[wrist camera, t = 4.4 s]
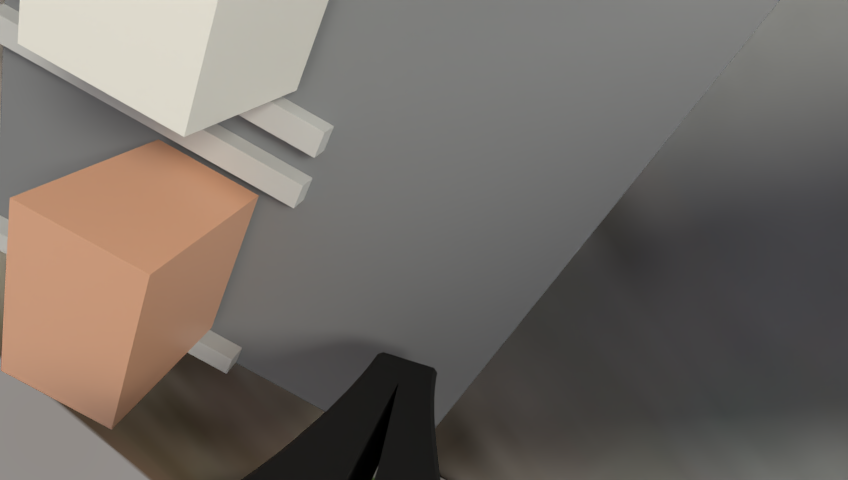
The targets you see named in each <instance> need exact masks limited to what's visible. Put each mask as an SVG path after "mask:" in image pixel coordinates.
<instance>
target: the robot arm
mask: <svg viewBox="0 0 848 480" xmlns="http://www.w3.org/2000/svg"><path fill="white" fill-rule="evenodd" d="M436 377H437V372H436V370H435V369H434V368H433V367H430V366H427V365H423V364H420V363H417V362H414V361H410V360H407V359H404V358H401V357H397V356H394V355H391V354H388V353H385V352H382V353H379V354H377V355H376V357H375V358H374V360H373V361H372V362H371V364H370V365H369V366H368V367H367V369H366V370H365V371H364V372H363V373H362V375H361V376H360V377H359V378H358V379H357V380H356V381H355V382H354V384H353V385H352V386H351V387H350V388H349V389H348V390H347V391H346V392H345V393H344V394H343V395H342V396H341V397H340V398H339V399H338V400H337V401H336V402H335V403H334V404H333V405H332V406H331V407H330V408H329V409H328V410H327V411H326V412H325V413H324V414H323V415H322V416H321V417H319V418H318V419H317V420H316V421H315V422H314V423H313V424H312V425H310V426H309V427H308V428H307V429H306V430H305V431H304V432H302V433H301V434H300V435H299V436H298V437H297V438H296V439H294V440H293V441H292V442H291V443H290V444H288V445H287V446H286V447H285V448H283V449H282V450H281V451H280V452H278V453H277V454H276V455H275V456H273V457H272V458H271V459H269V460H268V461H267V462H265V463H264V464H263V465H261V466H260V467H259V468H257V469H256V470H254V471H253V472H252V473H250V474H249V475H247V476H246V477H244V478H243V479H242V480H372V479H373V476H374V474H375V472H376V469H377V467H378V469H377V472H376V475H375V478H374V480H441V479H440V473H439V465H438V457H437V446H436V435H435V418H434V396H435V384H436Z"/></svg>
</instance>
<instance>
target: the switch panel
mask: <svg viewBox="0 0 848 480" xmlns="http://www.w3.org/2000/svg"><path fill="white" fill-rule="evenodd" d="M779 1H780V0H329V1H328V4H327V7H326V9H325V12H324V15H323V18H322V21H321V23H320V26H319V29H318V32H317V35H316V37H315V40H314V43H313V46H312V49H311V51H310V54H309V57H308V60H307V63H306V65H305V68H304V71H303V74H302V77H301V79H300V82H299V85H298V88H297V90H296V91H294V92H292V93H289V94H287V95H284V96H282V97H279V98H277V99H275V100H272V101H270V102H267V103H265V104H263V105H260V106H258V107H255V108H253V109H251V110H248V111H246V112H243V113H241V114H238V115H236V116H234V117H231V118H229V119H226V120H224V121H222V122H219V123H217V124H214V125H212V126H210V127H207V128H205V129H202V130H200V131H197V132H195V133H193V134H190V135H188V136H185V137H183V136H181V135H180V134H178V133H176V132H174V131H172V130H171V129H169V128H167V127H165V126H164V125H162V124H160V123H158V122H156V121H155V120H153V119H151V118H149V117H148V116H146V115H144V114H142V113H140V112H139V111H137V110H135V109H133V108H132V107H130V106H128V105H126V104H124V103H123V102H121V101H119V100H117V99H116V98H114V97H112V96H110V95H108V94H107V93H105V92H103V91H101V90H100V89H98V88H96V87H94V86H92V85H91V84H89V83H87V82H85V81H84V80H82V79H80V78H78V77H76V76H75V75H73V74H71V73H69V72H68V71H66V70H64V69H62V68H60V67H59V66H57V65H55V64H53V63H52V62H50V61H48V60H46V59H44V58H43V57H41V56H39V55H37V54H36V53H34V52H32V51H30V50H28V49H27V48H25V47H23V46H21V45H20V44H18V25H19V5H20V0H5V4H0V44H2V45H3V64H2V92H1V119H0V251H2V252H4V253H5V254H7V240H8V221H9V201H10V197H13V196H16V195H18V194H21V193H23V192H26V191H28V190H31V189H33V188H36V187H38V186H41V185H44V184H46V183H49V182H51V181H54V180H56V179H59V178H61V177H64V176H66V175H69V174H72V173H74V172H77V171H79V170H82V169H84V168H87V167H89V166H92V165H94V164H97V163H100V162H102V161H105V160H107V159H110V158H112V157H115V156H117V155H120V154H122V153H125V152H128V151H130V150H133V149H135V148H138V147H140V146H143V145H145V144H148V143H150V142H153V141H155V140H158V139H159V140H161V141H163V142H164V143H166V144H168V145H170V146H171V147H173V148H175V149H177V150H179V151H180V152H182V153H184V154H186V155H187V156H189V157H191V158H193V159H195V160H196V161H198V162H200V163H202V164H204V165H205V166H207V167H209V168H211V169H212V170H214V171H216V172H218V173H220V174H221V175H223V176H225V177H227V178H228V179H230V180H232V181H234V182H236V183H237V184H239V185H241V186H243V187H244V188H246V189H248V190H250V191H252V192H253V193H255V194H257V195H259V197H258V200H257V202H256V205H255V208H254V211H253V213H252V216H251V219H250V222H249V225H248V227H247V230H246V233H245V236H244V239H243V241H242V244H241V247H240V250H239V253H238V255H237V258H236V261H235V264H234V267H233V269H232V272H231V275H230V278H229V281H228V283H227V286H226V289H225V292H224V295H223V297H222V300H221V303H220V306H219V309H218V311H217V314H216V317H215V320H214V323H213V325H212V328H211V329H210V330H209V331H208V332H207V333H206V334H205V335H204V336H203V337H202V338H201V339H200V340H199V341H198V342H197V343H196V344H195V345H194V346H193V347H192V348H191V349H190V350H189V351H188V352H187V353H189V354H191V355H193V356H195V357H196V358H198V359H200V360H202V361H204V362H206V363H207V364H209V365H211V366H213V367H215V368H217V369H219V370H220V371H222V372H224V373H226V374H227V372H228V371H229V370H230V369H231V368H232V366H233V365H234V364H235V363H237V364H239V365H241V366H243V367H245V368H246V369H248V370H250V371H252V372H254V373H256V374H257V375H259V376H261V377H263V378H265V379H267V380H268V381H270V382H272V383H274V384H276V385H278V386H279V387H281V388H283V389H285V390H287V391H289V392H290V393H292V394H294V395H296V396H298V397H300V398H301V399H303V400H305V401H307V402H309V403H311V404H312V405H314V406H316V407H318V408H320V409H322V410H323V411H325V412H326V411H327V410H328V409H329V408H330V407H331V406H332V405H333V404H334V403H335V402H336V401H337V400H338V399H339V398H340V397H341V396H342V395H343V394H344V393H345V392H346V391H347V390H348V389H349V388H350V387H351V386H352V385H353V384H354V382H355V381H356V380H357V379H358V378H359V377H360V376H361V375H362V373H363V372H364V371H365V370H366V369H367V367H368V366H369V365H370V364H371V362H372V361H373V360H374V358H375V357H376V355H377V354H379V353H382V352H385V353H388V354H391V355H394V356H397V357H401V358H404V359H407V360H410V361H414V362H417V363H420V364H423V365H427V366H430V367H433V368H434V369H435V370H436V372H437V377H436V384H435V396H434V418H435V428H436V427H437V425H438V424H439V423H440V422H441V420H442V419H443V418H444V417H445V415H446V414H447V413H448V412H449V410H450V409H451V408H452V407H453V405H454V404H455V403H456V402H457V400H458V399H459V398H460V397H461V396H462V394H463V393H464V392H465V391H466V389H467V388H468V387H469V386H470V384H471V383H472V382H473V381H474V379H475V378H476V377H477V376H478V374H479V373H480V372H481V371H482V369H483V368H484V367H485V366H486V364H487V363H488V362H489V361H490V360H491V358H492V357H493V356H494V355H495V353H496V352H497V351H498V350H499V348H500V347H501V346H502V345H503V343H504V342H505V341H506V340H507V338H508V337H509V336H510V335H511V333H512V332H513V331H514V330H515V328H516V327H517V326H518V325H519V324H520V322H521V321H522V320H523V319H524V317H525V316H526V315H527V314H528V312H529V311H530V310H531V309H532V307H533V306H534V305H535V304H536V302H537V301H538V300H539V299H540V297H541V296H542V295H543V294H544V292H545V291H546V290H547V289H548V287H549V286H550V285H551V284H552V283H553V281H554V280H555V279H556V278H557V276H558V275H559V274H560V273H561V271H562V270H563V269H564V268H565V266H566V265H567V264H568V263H569V261H570V260H571V259H572V258H573V256H574V255H575V254H576V253H577V251H578V250H579V249H580V248H581V247H582V245H583V244H584V243H585V242H586V240H587V239H588V238H589V237H590V235H591V234H592V233H593V232H594V230H595V229H596V228H597V227H598V225H599V224H600V223H601V222H602V220H603V219H604V218H605V217H606V215H607V214H608V213H609V212H610V211H611V209H612V208H613V207H614V206H615V204H616V203H617V202H618V201H619V199H620V198H621V197H622V196H623V194H624V193H625V192H626V191H627V189H628V188H629V187H630V186H631V184H632V183H633V182H634V181H635V179H636V178H637V177H638V176H639V175H640V173H641V172H642V171H643V170H644V168H645V167H646V166H647V165H648V163H649V162H650V161H651V160H652V158H653V157H654V156H655V155H656V153H657V152H658V151H659V150H660V148H661V147H662V146H663V145H664V143H665V142H666V141H667V140H668V138H669V137H670V136H671V135H672V134H673V132H674V131H675V130H676V129H677V127H678V126H679V125H680V124H681V122H682V121H683V120H684V119H685V117H686V116H687V115H688V114H689V112H690V111H691V110H692V109H693V107H694V106H695V105H696V104H697V102H698V101H699V100H700V99H701V98H702V96H703V95H704V94H705V93H706V91H707V90H708V89H709V88H710V86H711V85H712V84H713V83H714V81H715V80H716V79H717V78H718V76H719V75H720V74H721V73H722V71H723V70H724V69H725V68H726V66H727V65H728V64H729V63H730V62H731V60H732V59H733V58H734V57H735V55H736V54H737V53H738V52H739V50H740V49H741V48H742V47H743V45H744V44H745V43H746V42H747V40H748V39H749V38H750V37H751V35H752V34H753V33H754V32H755V30H756V29H757V28H758V27H759V26H760V24H761V23H762V22H763V21H764V19H765V18H766V17H767V16H768V14H769V13H770V12H771V11H772V9H773V8H774V7H775V6H776V4H777V3H778V2H779Z"/></svg>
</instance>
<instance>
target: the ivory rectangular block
mask: <svg viewBox="0 0 848 480" xmlns="http://www.w3.org/2000/svg"><path fill="white" fill-rule="evenodd" d="M328 1H329V0H20V5H19V25H18V44H20V45H21V46H23V47H25V48H27V49H28V50H30V51H32V52H34V53H36V54H37V55H39V56H41V57H43V58H44V59H46V60H48V61H50V62H52V63H53V64H55V65H57V66H59V67H60V68H62V69H64V70H66V71H68V72H69V73H71V74H73V75H75V76H76V77H78V78H80V79H82V80H84V81H85V82H87V83H89V84H91V85H92V86H94V87H96V88H98V89H100V90H101V91H103V92H105V93H107V94H108V95H110V96H112V97H114V98H116V99H117V100H119V101H121V102H123V103H124V104H126V105H128V106H130V107H132V108H133V109H135V110H137V111H139V112H140V113H142V114H144V115H146V116H148V117H149V118H151V119H153V120H155V121H156V122H158V123H160V124H162V125H164V126H165V127H167V128H169V129H171V130H172V131H174V132H176V133H178V134H180V135H181V136H183V137H185V136H188V135H190V134H193V133H195V132H197V131H200V130H202V129H205V128H207V127H210V126H212V125H214V124H217V123H219V122H222V121H224V120H226V119H229V118H231V117H234V116H236V115H238V114H241V113H243V112H246V111H248V110H251V109H253V108H255V107H258V106H260V105H263V104H265V103H267V102H270V101H272V100H275V99H277V98H279V97H282V96H284V95H287V94H289V93H292V92H294V91H296V90H297V88H298V85H299V82H300V79H301V77H302V74H303V71H304V68H305V65H306V63H307V60H308V57H309V54H310V51H311V49H312V46H313V43H314V40H315V37H316V35H317V32H318V29H319V26H320V23H321V21H322V18H323V15H324V12H325V9H326V7H327V4H328Z"/></svg>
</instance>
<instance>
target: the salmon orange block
mask: <svg viewBox="0 0 848 480" xmlns="http://www.w3.org/2000/svg"><path fill="white" fill-rule="evenodd" d="M258 197H259V195H257V194H255V193H253V192H252V191H250V190H248V189H246V188H244V187H243V186H241V185H239V184H237V183H236V182H234V181H232V180H230V179H228V178H227V177H225V176H223V175H221V174H220V173H218V172H216V171H214V170H212V169H211V168H209V167H207V166H205V165H204V164H202V163H200V162H198V161H196V160H195V159H193V158H191V157H189V156H187V155H186V154H184V153H182V152H180V151H179V150H177V149H175V148H173V147H171V146H170V145H168V144H166V143H164V142H163V141H161V140H159V139H158V140H155V141H153V142H150V143H148V144H145V145H143V146H140V147H138V148H135V149H133V150H130V151H128V152H125V153H122V154H120V155H117V156H115V157H112V158H110V159H107V160H105V161H102V162H100V163H97V164H94V165H92V166H89V167H87V168H84V169H82V170H79V171H77V172H74V173H72V174H69V175H66V176H64V177H61V178H59V179H56V180H54V181H51V182H49V183H46V184H44V185H41V186H38V187H36V188H33V189H31V190H28V191H26V192H23V193H21V194H18V195H16V196H13V197H10V201H9V221H8V240H7V260H6V279H5V299H4V319H3V338H2V358H1V371H3V372H5V373H6V374H8V375H10V376H12V377H14V378H16V379H18V380H20V381H21V382H23V383H25V384H27V385H29V386H31V387H33V388H35V389H36V390H38V391H40V392H42V393H44V394H46V395H48V396H49V397H51V398H53V399H55V400H57V401H59V402H61V403H63V404H64V405H66V406H68V407H70V408H72V409H74V410H76V411H78V412H79V413H81V414H83V415H85V416H87V417H89V418H91V419H93V420H94V421H96V422H98V423H100V424H102V425H104V426H106V427H107V428H109V429H111V430H112V429H113V428H114V427H115V426H116V425H117V424H118V423H119V422H120V421H121V420H122V419H123V418H124V416H125V415H126V414H127V413H128V412H129V411H130V410H131V409H132V408H133V407H134V406H135V405H136V404H137V403H138V402H139V401H140V400H141V399H142V398H143V397H144V396H145V395H146V394H147V393H148V392H149V391H150V390H151V389H152V388H153V387H154V386H155V385H156V384H157V383H158V382H159V381H160V380H161V379H162V378H163V377H164V376H165V375H166V374H167V373H168V372H169V371H170V370H171V369H172V368H173V367H174V365H175V364H176V363H177V362H178V361H179V360H180V359H181V358H182V357H183V356H184V355H185V354H186V353H187V352H188V351H189V350H190V349H191V348H192V347H193V346H194V345H195V344H196V343H197V342H198V341H199V340H200V339H201V338H202V337H203V336H204V335H205V334H206V333H207V332H208V331H209V330H210V329H211V328H212V325H213V323H214V320H215V317H216V314H217V311H218V309H219V306H220V303H221V300H222V297H223V295H224V292H225V289H226V286H227V283H228V281H229V278H230V275H231V272H232V269H233V267H234V264H235V261H236V258H237V255H238V253H239V250H240V247H241V244H242V241H243V239H244V236H245V233H246V230H247V227H248V225H249V222H250V219H251V216H252V213H253V211H254V208H255V205H256V202H257V200H258Z"/></svg>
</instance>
